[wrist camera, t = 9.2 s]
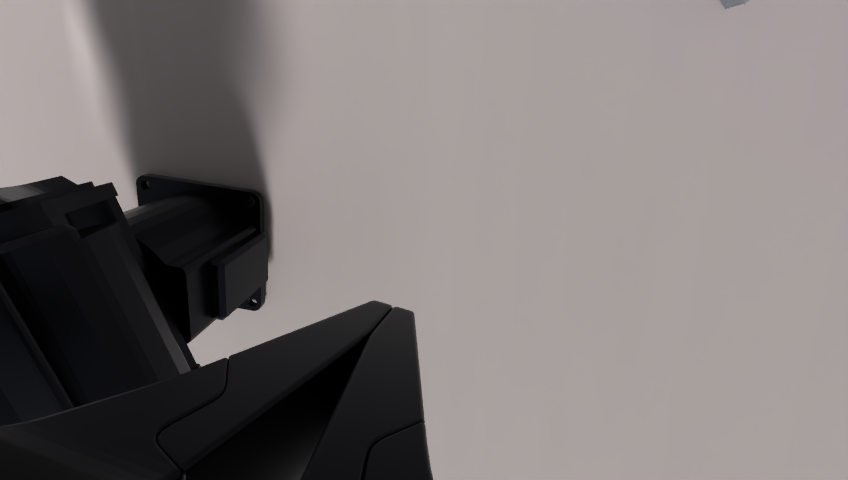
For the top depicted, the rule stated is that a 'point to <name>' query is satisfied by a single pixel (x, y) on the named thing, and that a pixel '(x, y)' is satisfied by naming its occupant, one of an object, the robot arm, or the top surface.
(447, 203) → the top surface
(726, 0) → the grey railed plate
